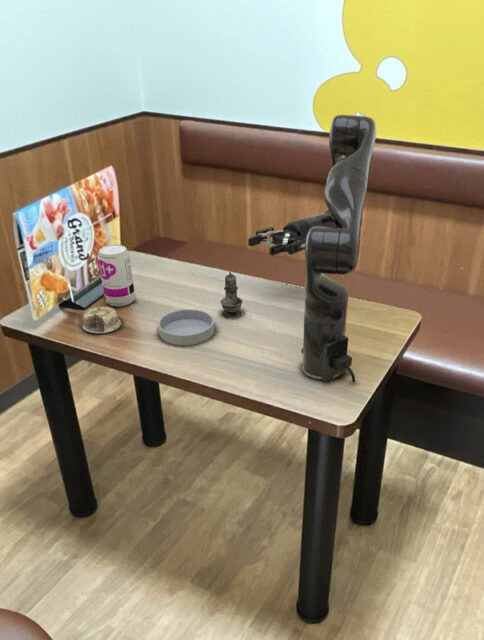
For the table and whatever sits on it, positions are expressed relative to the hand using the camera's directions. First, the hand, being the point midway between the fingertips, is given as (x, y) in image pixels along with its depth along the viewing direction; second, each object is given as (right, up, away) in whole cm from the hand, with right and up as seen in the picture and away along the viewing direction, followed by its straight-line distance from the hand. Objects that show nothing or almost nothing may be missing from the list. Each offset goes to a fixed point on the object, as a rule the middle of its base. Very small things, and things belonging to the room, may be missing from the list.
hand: (259, 247), depth 158 cm
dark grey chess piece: (-7, -17, +4) cm, 19 cm away
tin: (-18, -22, -4) cm, 29 cm away
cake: (-41, -21, -2) cm, 46 cm away
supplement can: (-39, -13, +10) cm, 42 cm away
